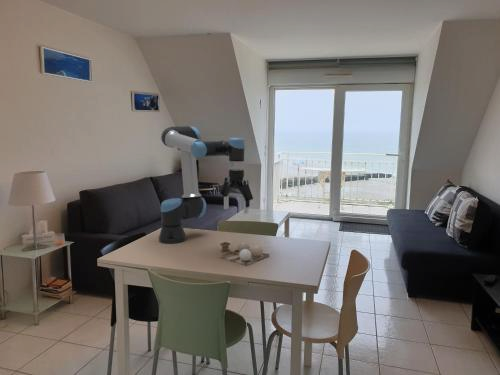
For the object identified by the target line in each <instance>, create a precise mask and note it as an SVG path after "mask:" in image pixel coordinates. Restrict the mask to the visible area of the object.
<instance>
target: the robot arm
mask: <svg viewBox="0 0 500 375" xmlns="http://www.w3.org/2000/svg"><path fill="white" fill-rule="evenodd" d="M160 141H161V142H162V144H163V145H164V146H166V147H168V148H171V149H174V148H176V149H177V151H178V152H179V153H180V160H181V161H180V162H181V164H180V165H181V174H182V176H181V177H182V186H183V194H182V195H181V198H178V197H176V198H175V197H174V198H168V199H165V200H163V201H162V202H161V205H160V214H161V215H160V217H161V218H160V220H161V229H160V232H159V235H158V241H159V243H163V244H176V243H183V242H184V241H186V239H187V237H186V235H187V234H186V233H185V230H184V227H183V221H187V220H192V219H193V220H194V219H195V220H196V219H199V218H201V217H202V218H203V216H205V213H206V211H207V202H206V200H205V198H204V197H202V194H201V193H200V192H199V180H198V168H197V158H207V157H208V158H209V157H222V156H223V157H228V169H229V170H228V177H224V182H223V185H222V187H221V190H220V192H219V194H220V195H222V197H223V198H222V201H223V210H228V209H229V208H230V207H229V206H230V205H229V203H230V202H229V198H230V197H229V194H230V192H231V191H232V190H233V189H234V188H235V189H238V191H239V192H240V193H241V195H242V197H243V199H244V200H243V214H244V215H246V214H249V210H250V209H249V207H250V205H251V204H250V201H252V200H253V199H254V197H253V194H252V191H251V188H250V184H249V180H248V179H246V180H244V177H245V170H244V169H245V148H246V147H245V139H244V138H242V137H229V140H223V139H222V140H214V141H206V140H202V137H201V133H200V131H199V129H198V128H197V127H195V126H186V125H185V126H169V127H166V128H165V129H164V130H162V132H161V135H160Z"/></svg>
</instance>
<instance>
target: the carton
mask: <svg viewBox="0 0 500 375" xmlns="http://www.w3.org/2000/svg"><path fill="white" fill-rule="evenodd" d="M249 250H250V252H251V248H250V249H249ZM239 253H240V252H239V250H238V248H237V249H235V250H232V251H231V250H230V252H227V253H222V254H220V255H219V258H220V259H221V260H225V261H229V262H233V263H236V264H239V265H242V266H246V267H248V266H250V265H253V264H254V263H257V262H259V261H262V260H264V259H267V258H270V254H269V253H266V252H263V253H262V255H261V256H259V257H254V256H253V255H252V257H251V259H250V260H249V261H246V262H245V261H242V260H241V259H240V257H239Z"/></svg>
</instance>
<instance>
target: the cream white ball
mask: <svg viewBox="0 0 500 375" xmlns="http://www.w3.org/2000/svg"><path fill="white" fill-rule="evenodd" d="M250 249H251V254H252V255H253V256H254V257H259V256H261V255H262V253H264V249H263V247H262V246H261V245H259V244H254V245H253V246H252V247H251V248H250Z"/></svg>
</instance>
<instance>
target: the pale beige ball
mask: <svg viewBox="0 0 500 375" xmlns="http://www.w3.org/2000/svg"><path fill="white" fill-rule="evenodd" d="M237 249H238V250H239V252H240V251H241V250H243V249H248V250H249V249H251V248H250V244H249V243H248V242H247V241H241V242H239V243H238V245H237Z"/></svg>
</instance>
